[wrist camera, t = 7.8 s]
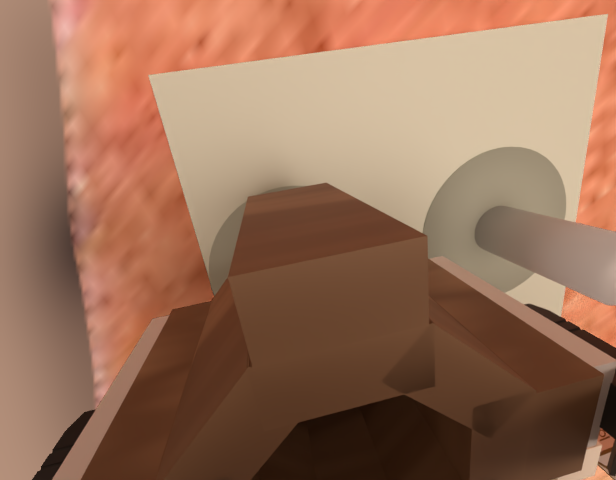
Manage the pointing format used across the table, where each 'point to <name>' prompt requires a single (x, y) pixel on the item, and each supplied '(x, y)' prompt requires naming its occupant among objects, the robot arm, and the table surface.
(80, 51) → the table surface
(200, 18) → the table surface
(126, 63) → the table surface
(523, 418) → the walnut gear
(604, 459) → the game die
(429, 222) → the board
